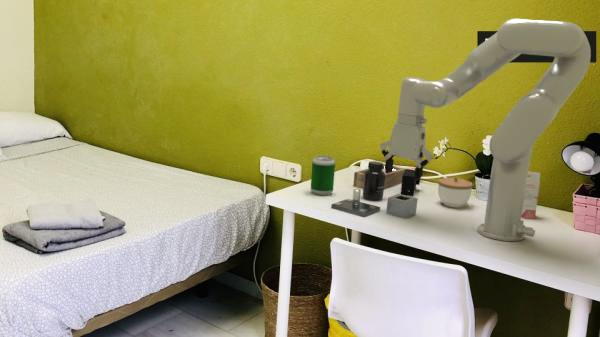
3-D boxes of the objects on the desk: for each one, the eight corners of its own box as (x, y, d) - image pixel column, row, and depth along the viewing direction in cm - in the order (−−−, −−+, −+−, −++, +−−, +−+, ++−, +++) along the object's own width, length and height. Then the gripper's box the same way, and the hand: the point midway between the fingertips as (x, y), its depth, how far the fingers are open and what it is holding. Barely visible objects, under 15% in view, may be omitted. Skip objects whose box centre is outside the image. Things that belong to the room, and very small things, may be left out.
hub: (415, 214, 184) (417, 198, 183) (405, 218, 179) (407, 202, 178) (396, 209, 188) (398, 193, 187) (386, 213, 183) (387, 197, 182)
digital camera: (416, 197, 203) (418, 177, 202) (400, 195, 205) (402, 175, 203) (419, 189, 213) (421, 170, 212) (403, 187, 214) (405, 168, 213)
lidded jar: (452, 198, 204) (455, 171, 202) (476, 207, 195) (480, 179, 193) (429, 202, 198) (432, 174, 196) (453, 211, 189) (457, 182, 187)
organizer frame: (404, 181, 222) (406, 168, 221) (376, 191, 207) (377, 177, 206) (382, 176, 228) (383, 163, 227) (353, 186, 212) (354, 172, 211)
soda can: (333, 196, 198) (335, 161, 195) (310, 195, 198) (312, 159, 195) (332, 190, 205) (335, 156, 202) (310, 189, 205) (312, 154, 202)
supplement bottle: (382, 202, 195) (385, 166, 192) (361, 199, 196) (364, 164, 193) (383, 196, 201) (387, 161, 199) (363, 194, 203) (366, 159, 200)
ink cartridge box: (535, 215, 190) (542, 170, 187) (534, 219, 186) (541, 173, 182) (506, 211, 193) (513, 166, 190) (505, 215, 189) (512, 169, 185)
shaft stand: (379, 210, 185) (381, 191, 184) (364, 217, 178) (366, 197, 177) (347, 202, 192) (348, 183, 191) (331, 207, 185) (332, 188, 184)
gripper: (442, 124, 175) (434, 180, 179) (390, 114, 185) (384, 168, 189) (431, 126, 169) (422, 184, 173) (378, 116, 179) (371, 171, 183)
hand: (402, 176), depth 181 cm, fingers open, 9 cm apart
